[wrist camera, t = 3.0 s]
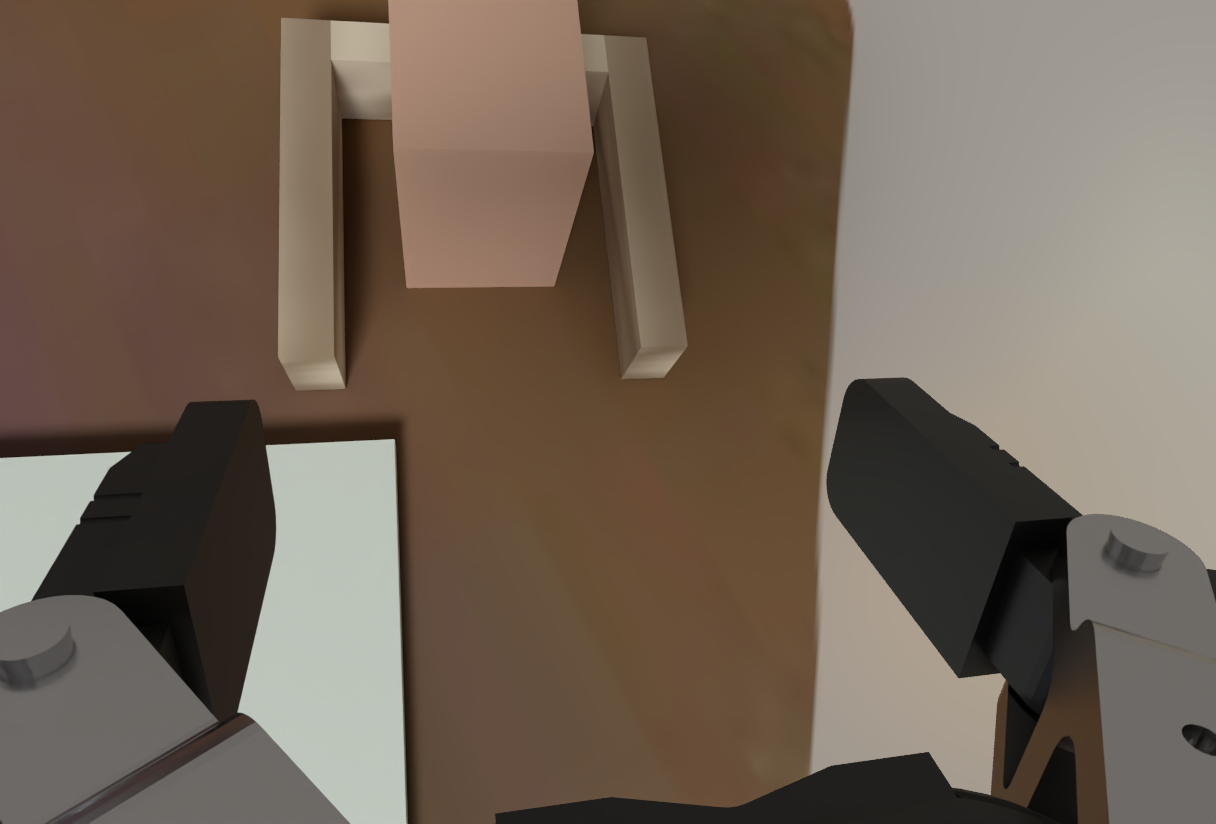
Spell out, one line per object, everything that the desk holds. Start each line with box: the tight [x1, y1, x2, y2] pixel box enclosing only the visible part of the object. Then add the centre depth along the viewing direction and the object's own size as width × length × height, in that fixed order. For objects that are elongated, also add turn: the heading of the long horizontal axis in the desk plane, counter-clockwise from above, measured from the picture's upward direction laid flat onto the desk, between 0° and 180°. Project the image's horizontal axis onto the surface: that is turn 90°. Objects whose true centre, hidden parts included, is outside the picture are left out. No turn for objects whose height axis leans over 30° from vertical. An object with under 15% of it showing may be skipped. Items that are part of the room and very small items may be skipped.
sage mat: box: [0, 439, 408, 824], centre depth 22 cm, size 14×14×1 cm
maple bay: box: [278, 18, 688, 391], centre depth 27 cm, size 12×12×3 cm
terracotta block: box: [388, 0, 594, 288], centre depth 25 cm, size 5×5×8 cm
